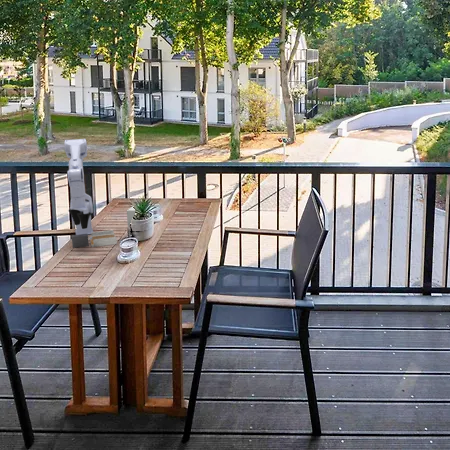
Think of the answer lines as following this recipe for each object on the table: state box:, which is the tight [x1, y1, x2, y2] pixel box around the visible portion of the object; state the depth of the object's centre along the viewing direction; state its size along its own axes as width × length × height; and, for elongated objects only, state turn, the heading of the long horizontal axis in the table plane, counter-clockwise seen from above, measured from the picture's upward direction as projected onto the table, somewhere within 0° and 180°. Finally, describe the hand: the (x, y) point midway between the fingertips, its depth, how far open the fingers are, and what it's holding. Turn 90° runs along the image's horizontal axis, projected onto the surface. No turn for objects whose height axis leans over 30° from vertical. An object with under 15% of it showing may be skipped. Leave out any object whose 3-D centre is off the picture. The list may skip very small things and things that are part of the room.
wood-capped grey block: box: [71, 234, 90, 249], centre depth 283 cm, size 3×7×5 cm, turn 106°
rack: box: [88, 229, 118, 248], centre depth 288 cm, size 13×11×3 cm
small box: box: [126, 205, 135, 228], centre depth 303 cm, size 8×6×10 cm
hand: (81, 226), depth 279 cm, fingers open, 7 cm apart
